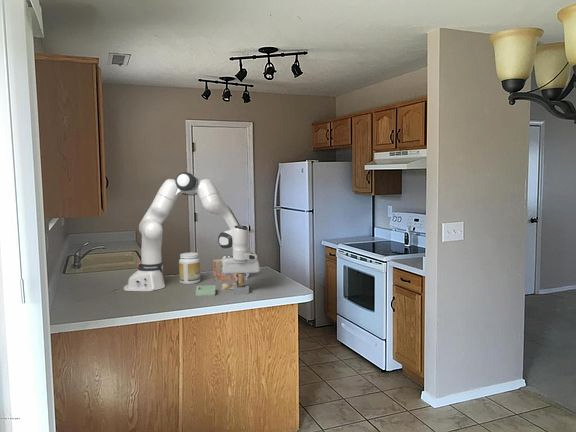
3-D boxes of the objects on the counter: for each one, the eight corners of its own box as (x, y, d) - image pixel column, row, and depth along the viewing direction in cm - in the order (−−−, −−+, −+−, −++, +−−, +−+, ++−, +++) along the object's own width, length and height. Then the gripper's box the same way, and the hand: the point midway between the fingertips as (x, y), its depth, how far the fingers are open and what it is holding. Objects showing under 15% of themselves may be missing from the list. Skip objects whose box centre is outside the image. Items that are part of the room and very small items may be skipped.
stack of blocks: (246, 275, 306) (245, 256, 304) (249, 278, 300) (249, 258, 299) (213, 279, 296) (212, 259, 295) (216, 281, 291) (215, 261, 289)
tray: (195, 296, 258) (195, 290, 258) (197, 291, 268) (197, 285, 268) (215, 295, 259) (214, 289, 259) (215, 290, 269) (215, 285, 269)
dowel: (238, 292, 265) (238, 274, 264) (238, 291, 268) (238, 273, 267) (244, 292, 265) (244, 274, 264) (244, 290, 269) (244, 273, 267)
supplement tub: (202, 279, 295) (202, 252, 293) (197, 284, 283) (196, 256, 281) (183, 279, 296) (182, 251, 294) (176, 284, 284) (175, 255, 282)
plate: (222, 290, 271) (222, 286, 271) (222, 288, 277) (222, 283, 277) (236, 290, 272) (236, 285, 272) (236, 287, 278) (236, 283, 278)
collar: (234, 293, 262) (233, 288, 262) (234, 290, 270) (234, 284, 270) (249, 293, 263) (248, 288, 263) (248, 289, 271) (248, 284, 271)
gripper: (221, 257, 260) (221, 282, 262) (259, 256, 263) (260, 281, 264) (221, 255, 267) (222, 279, 268) (259, 254, 269) (259, 278, 270)
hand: (241, 280), depth 266 cm, fingers closed on dowel, 3 cm apart
